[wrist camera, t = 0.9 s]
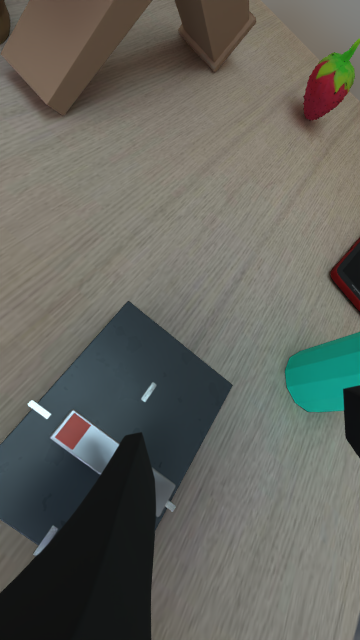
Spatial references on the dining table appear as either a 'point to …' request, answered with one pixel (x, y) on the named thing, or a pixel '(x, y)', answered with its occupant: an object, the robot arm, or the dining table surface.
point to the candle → (324, 374)
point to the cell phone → (349, 274)
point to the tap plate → (109, 420)
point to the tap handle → (100, 450)
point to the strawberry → (329, 83)
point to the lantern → (4, 22)
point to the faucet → (108, 39)
